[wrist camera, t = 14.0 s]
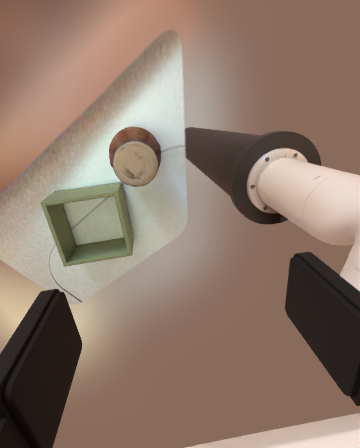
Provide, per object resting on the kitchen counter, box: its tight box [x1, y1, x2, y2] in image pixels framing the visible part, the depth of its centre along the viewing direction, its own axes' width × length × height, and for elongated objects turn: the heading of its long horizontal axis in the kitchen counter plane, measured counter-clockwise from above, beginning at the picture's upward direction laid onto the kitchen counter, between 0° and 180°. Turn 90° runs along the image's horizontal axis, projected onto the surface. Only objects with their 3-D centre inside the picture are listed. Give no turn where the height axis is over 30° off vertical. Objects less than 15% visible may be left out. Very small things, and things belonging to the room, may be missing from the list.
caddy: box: [41, 182, 133, 267], centre depth 40 cm, size 11×11×6 cm
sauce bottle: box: [109, 127, 161, 187], centre depth 30 cm, size 7×6×20 cm
